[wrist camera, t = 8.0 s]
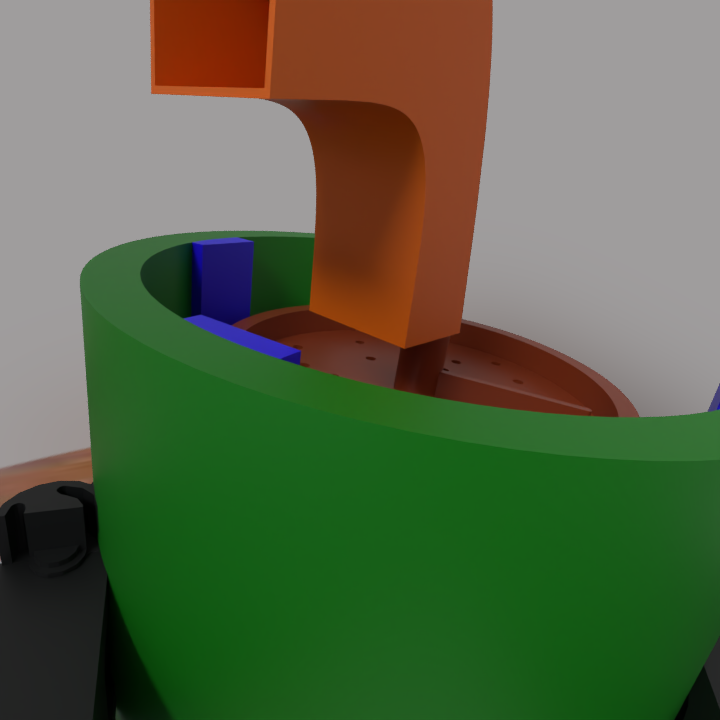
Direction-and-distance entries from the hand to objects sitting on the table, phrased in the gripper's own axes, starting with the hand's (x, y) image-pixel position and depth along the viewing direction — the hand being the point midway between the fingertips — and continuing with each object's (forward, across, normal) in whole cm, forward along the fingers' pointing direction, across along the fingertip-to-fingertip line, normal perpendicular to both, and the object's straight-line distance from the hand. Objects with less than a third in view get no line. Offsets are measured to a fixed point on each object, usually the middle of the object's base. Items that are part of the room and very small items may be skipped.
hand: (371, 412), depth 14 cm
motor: (-5, 0, -11) cm, 12 cm away
